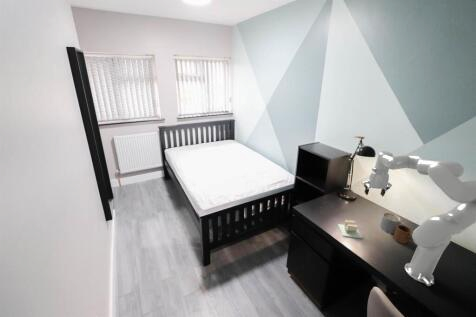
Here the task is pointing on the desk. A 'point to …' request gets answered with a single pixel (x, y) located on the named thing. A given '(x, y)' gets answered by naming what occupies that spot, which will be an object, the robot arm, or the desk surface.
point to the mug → (402, 234)
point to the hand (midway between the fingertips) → (374, 194)
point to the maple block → (350, 227)
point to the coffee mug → (390, 222)
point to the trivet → (348, 233)
